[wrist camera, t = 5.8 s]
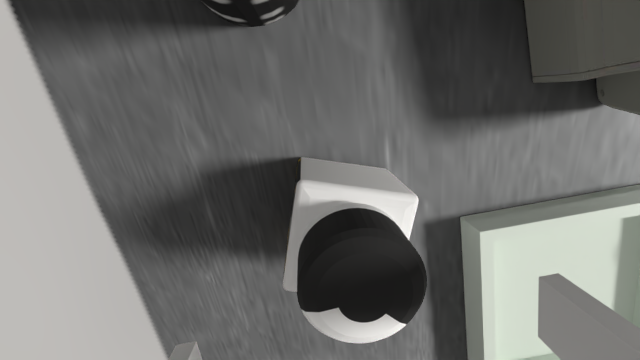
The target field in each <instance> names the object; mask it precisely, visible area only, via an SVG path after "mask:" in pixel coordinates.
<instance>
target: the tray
mask: <svg viewBox="0 0 640 360" xmlns="http://www.w3.org/2000/svg"><path fill="white" fill-rule="evenodd" d="M460 221H461V240H462V259H463V278H464V298H465V317H466V336H467V355H468V360H561V359H560V358H559V357H558V356H557V355H556V354H555V353H554V352H553V351H552V350H551V349H550V348H549V347H548V346H547V345H546V344H545V343H544V342H543V341H542V340H541V339H540V338H539V337H538V291H539V277H541V276H546V275H551V274H557V273H559V274H560V275H562V276H563V277H565V278H566V279H568V280H569V281H571V282H572V283H574V284H575V285H576V286H578V287H579V288H581V289H582V290H584V291H585V292H587V293H588V294H590V295H591V296H593V297H594V298H596V299H597V300H599V301H600V302H601V303H603V304H604V305H606V306H607V307H609V308H610V309H612V310H613V311H615V312H616V313H618V314H619V315H621V316H622V317H624V318H625V319H626V320H628V321H629V322H631V323H632V324H634V325H635V326H637V327H638V328H640V184H638V185H633V186H627V187H622V188H616V189H611V190H605V191H600V192H594V193H589V194H583V195H578V196H572V197H567V198H561V199H556V200H550V201H545V202H539V203H534V204H528V205H523V206H517V207H512V208H506V209H501V210H495V211H490V212H484V213H479V214H473V215H468V216H462V217H460Z"/></svg>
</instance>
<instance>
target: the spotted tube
mask: <svg viewBox="0 0 640 360" xmlns="http://www.w3.org/2000/svg"><path fill="white" fill-rule="evenodd" d="M200 1H201V2H203V3H204V4H205V5H206V6H207V7H208V8H209V9H211V10H212V11H213V12H214V13H215V14H217V15H218V16H220V17H222V18H223V19H225V20H227V21H229V22H232V23H235V24H238V25H244V26H262V25H266V24H269V23H273V22H275V21H277V20H279V19H281V18H282V17H284V16H286V15H287V14H288V13H289V12H290V11H291V10H292V9H293V8H294V7H295V6H296V5H297V3H298V2H299V1H300V0H200Z"/></svg>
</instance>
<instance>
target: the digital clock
mask: <svg viewBox="0 0 640 360" xmlns="http://www.w3.org/2000/svg"><path fill="white" fill-rule="evenodd" d="M524 4H525V13H526V22H527V31H528V40H529V50H530V59H531V68H532V76H533V83H544V82H568V81H582V80H589V79H593V78H596V82H597V94H598V98H599V100H600V101H601V102H602V103H603V104H604V105H607V106H609V107H612V108H615V109H619V110H623V111H627V112H630V113H634V114H638V115H640V0H524Z"/></svg>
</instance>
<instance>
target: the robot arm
mask: <svg viewBox="0 0 640 360" xmlns="http://www.w3.org/2000/svg"><path fill="white" fill-rule="evenodd" d="M538 337H539V338H540V339H541V340H542V341H543V342H544V343H545V344H546V345H547V346H548V347H549V348H550V349H551V350H552V351H553V352H554V353H555V354H556V355H557V356H558V357H559V358H560V359H561V360H640V328H638V327H637V326H635V325H634V324H632V323H631V322H629V321H628V320H626V319H625V318H624V317H622V316H621V315H619V314H618V313H616V312H615V311H613V310H612V309H610V308H609V307H607V306H606V305H604V304H603V303H601V302H600V301H599V300H597V299H596V298H594V297H593V296H591V295H590V294H588V293H587V292H585V291H584V290H582V289H581V288H579V287H578V286H576V285H575V284H574V283H572V282H571V281H569V280H568V279H566V278H565V277H563V276H562V275H560V274H559V273H557V274H551V275H546V276H541V277H539V291H538ZM169 360H202V357H201V354H200V351H199V348H198V345H197V342H196V341H195V342H189V343H184V344H179V345H176V346H175V348H174V350H173V352H172V354H171V356H170V358H169Z"/></svg>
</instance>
